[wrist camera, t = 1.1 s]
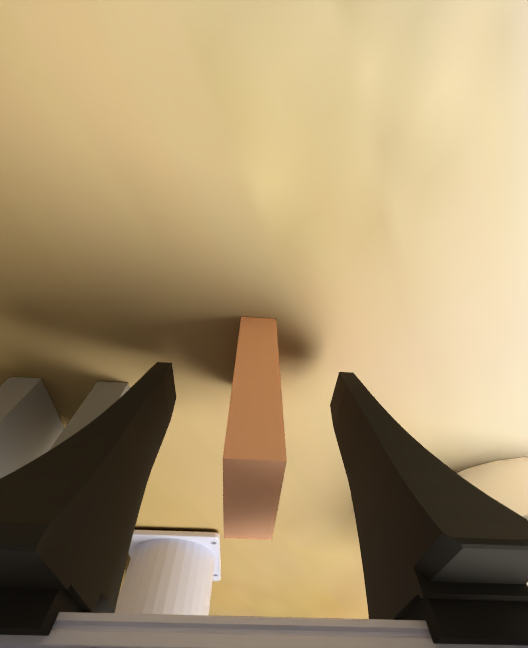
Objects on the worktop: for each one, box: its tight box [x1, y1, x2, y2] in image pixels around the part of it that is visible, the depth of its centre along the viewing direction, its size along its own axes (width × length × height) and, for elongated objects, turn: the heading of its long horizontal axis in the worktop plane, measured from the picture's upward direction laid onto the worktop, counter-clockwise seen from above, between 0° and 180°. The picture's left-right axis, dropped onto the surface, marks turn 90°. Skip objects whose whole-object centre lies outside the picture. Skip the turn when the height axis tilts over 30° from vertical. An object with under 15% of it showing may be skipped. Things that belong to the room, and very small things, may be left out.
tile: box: [223, 317, 286, 540], centre depth 11 cm, size 4×2×7 cm, turn 176°
